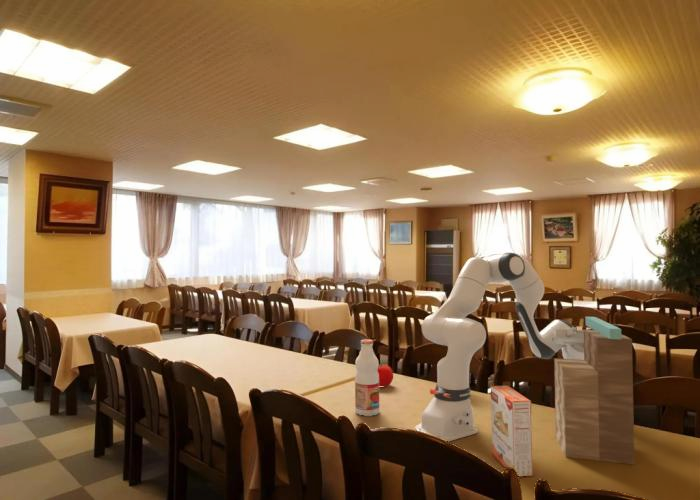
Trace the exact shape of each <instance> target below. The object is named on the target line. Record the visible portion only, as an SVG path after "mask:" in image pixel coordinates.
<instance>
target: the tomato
mask: <svg viewBox="0 0 700 500" xmlns="http://www.w3.org/2000/svg"><path fill="white" fill-rule="evenodd" d="M377 371H378V374H379V386H387V387H389V386H390V385H391V384H392V382H393V380H394V371H393V369H392V367H390V365H387V363H386V364H384V363H383V364H382V363H381V364H379V365H378V370H377ZM388 385H389V386H388Z"/></svg>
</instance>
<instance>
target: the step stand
mask: <svg viewBox="0 0 700 500" xmlns="http://www.w3.org/2000/svg"><path fill="white" fill-rule="evenodd" d="M583 330H584V360H576V359H564V358H553V359H554V361H553V363H554V401H555V402H554V412H555V413H554V415H555V418H554V419H555V421H554V422H555V438H556V440H557V443H558V444H559V446H560V448H561V450H562V452H563V454H564V456H565V458H572V459H580V460H590V461H601V462H607V463H608V462H609V463H618V464H619V463H620V464H625V465H626V464H627V465H635V426H634V425H635V423H634V421H635V419H634V418H635V417H634V376H633V375H634V373H633V372H634V371H633V370H634V369H633V368H634V367H633V339H632V338H630V337H628V336H626V335H625V334H622V333H621V339H609V338H607V337H605V336H604V335H602V334H600V333H598V332H597V331H595V330H593V329H583Z"/></svg>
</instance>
